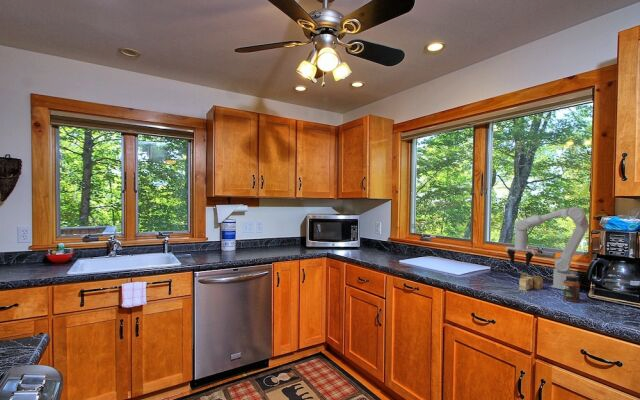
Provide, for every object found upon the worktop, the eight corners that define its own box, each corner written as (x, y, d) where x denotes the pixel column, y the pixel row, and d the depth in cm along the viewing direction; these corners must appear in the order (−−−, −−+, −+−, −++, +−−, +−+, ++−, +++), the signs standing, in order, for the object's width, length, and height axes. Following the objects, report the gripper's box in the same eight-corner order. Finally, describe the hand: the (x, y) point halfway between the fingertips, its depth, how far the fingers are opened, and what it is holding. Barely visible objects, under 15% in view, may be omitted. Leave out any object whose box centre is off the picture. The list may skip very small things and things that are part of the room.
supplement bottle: (579, 300, 145) (580, 276, 145) (579, 303, 141) (579, 278, 141) (563, 297, 149) (564, 274, 149) (562, 300, 145) (563, 276, 145)
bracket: (542, 288, 165) (542, 275, 165) (539, 289, 162) (539, 276, 162) (523, 284, 172) (523, 272, 172) (520, 285, 169) (520, 273, 169)
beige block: (527, 286, 167) (527, 276, 167) (533, 287, 165) (533, 277, 165) (519, 289, 161) (519, 278, 161) (525, 290, 159) (525, 280, 159)
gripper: (503, 239, 180) (503, 263, 180) (532, 243, 169) (531, 267, 169) (509, 239, 184) (508, 261, 185) (537, 242, 173) (536, 266, 173)
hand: (519, 264), depth 177 cm, fingers open, 7 cm apart
